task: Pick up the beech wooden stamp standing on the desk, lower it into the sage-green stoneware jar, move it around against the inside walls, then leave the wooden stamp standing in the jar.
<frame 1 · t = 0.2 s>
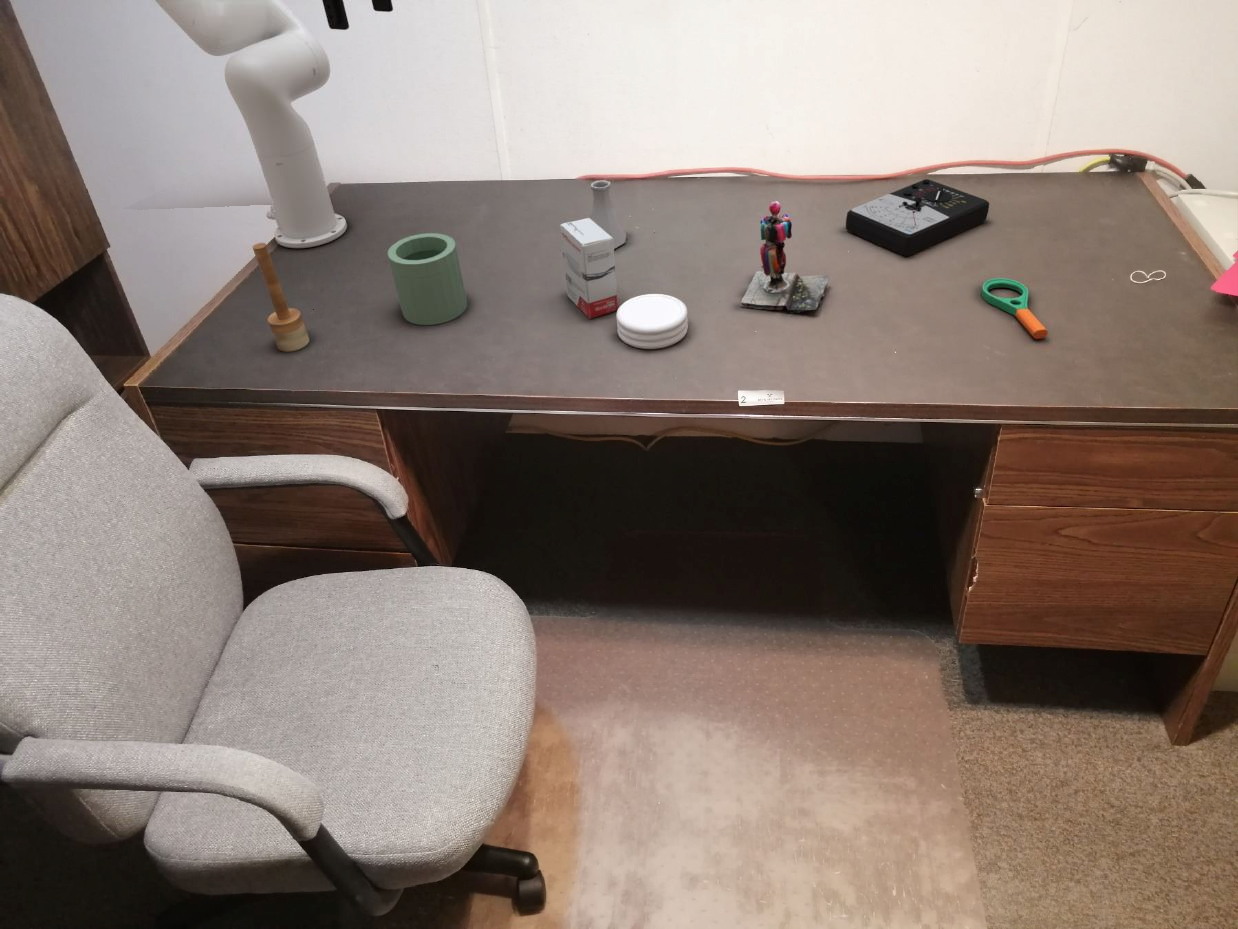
hand: (362, 19, 127), 37 cm above the table, tool pointing down, fingers open, 9 cm apart
magnifying glass: (1015, 313, 124), on the table
coaster: (652, 332, 127), on the table
wooden stamp: (293, 343, 131), on the table
multimeter: (915, 227, 146), on the table
flask: (605, 242, 150), on the table
jar: (435, 308, 136), on the table
statue: (785, 297, 132), on the table
ink box: (592, 304, 134), on the table
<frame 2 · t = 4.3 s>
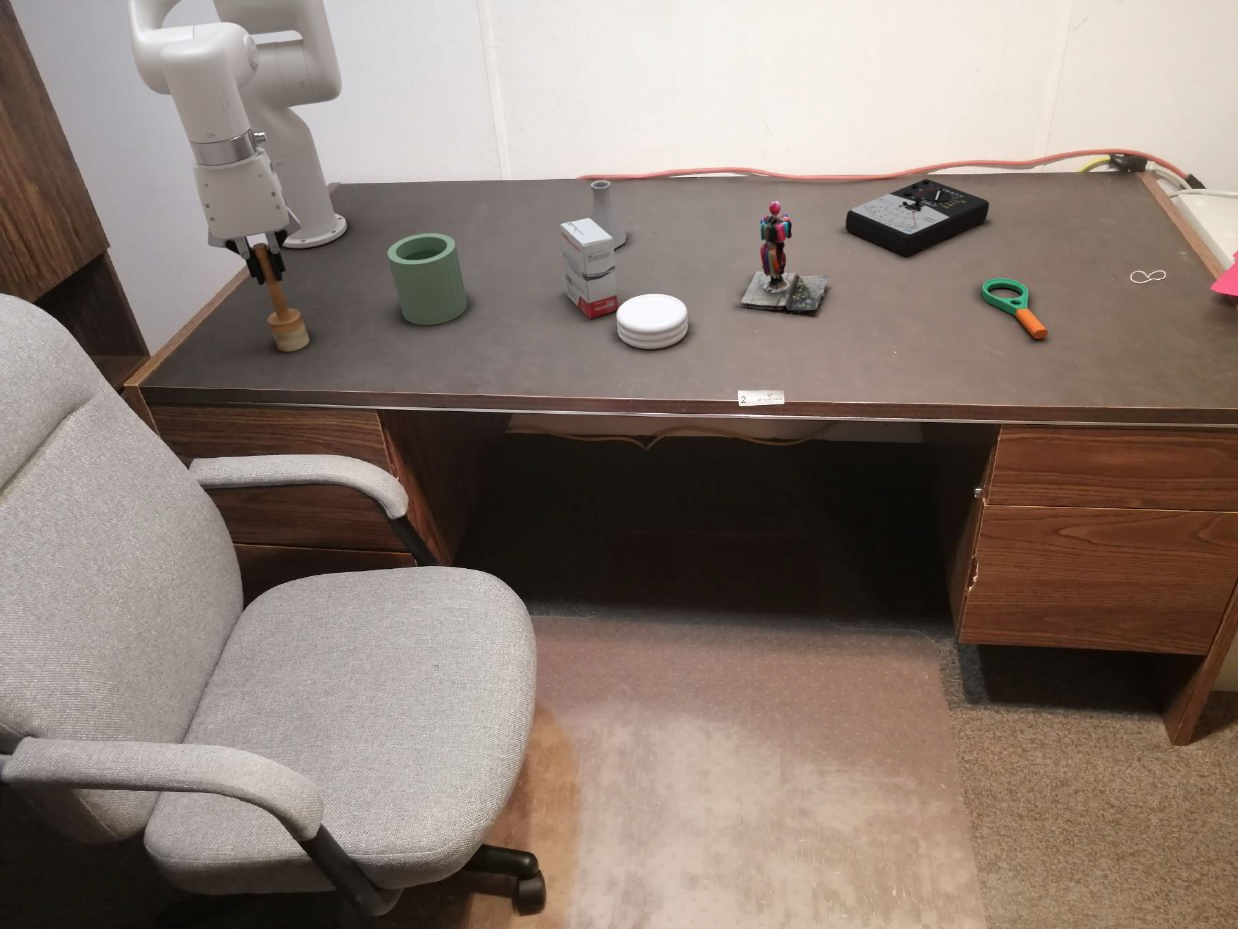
hand: (270, 277, 124), 11 cm above the table, tool pointing down, fingers closed on wooden stamp
wooden stamp: (293, 343, 131), on the table, touching gripper
everything else where it was.
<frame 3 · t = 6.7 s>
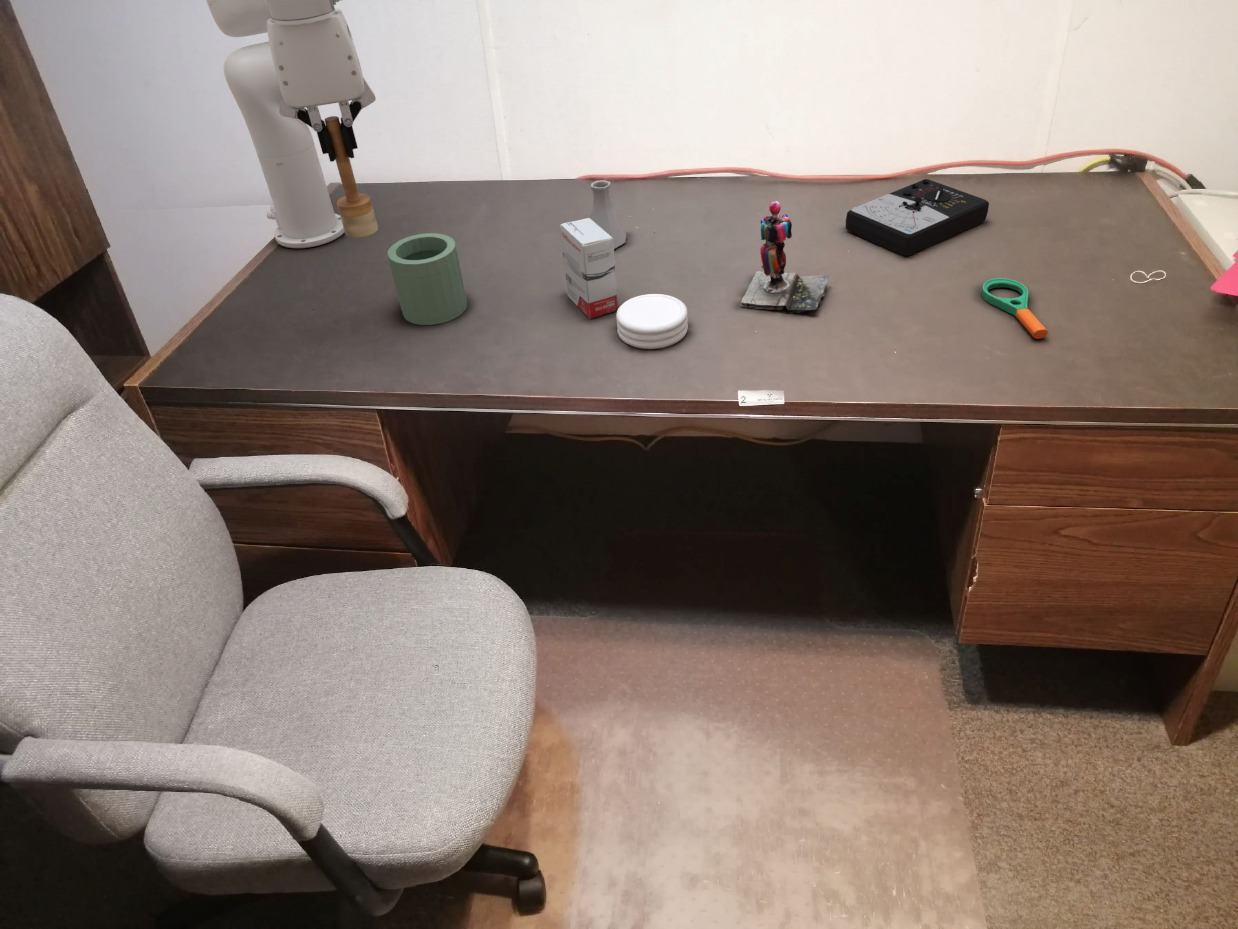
hand: (341, 155, 118), 25 cm above the table, tool pointing down, fingers closed on wooden stamp
wooden stamp: (361, 230, 125), point 15 cm above the table, touching gripper
everything else where it was.
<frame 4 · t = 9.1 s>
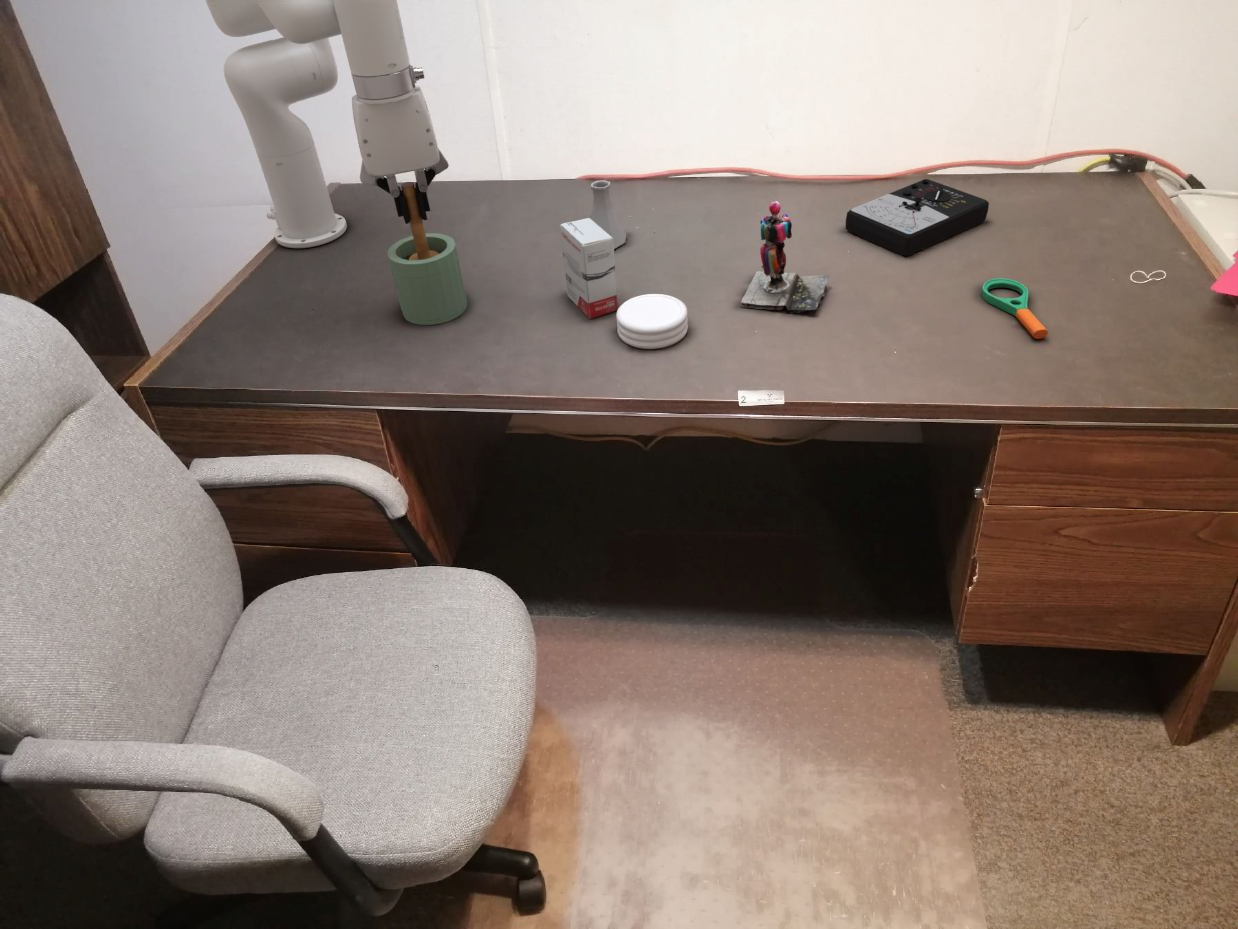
hand: (415, 217, 126), 15 cm above the table, tool pointing down, fingers closed on wooden stamp
wooden stamp: (430, 284, 133), point 4 cm above the table, touching gripper
everything else where it was.
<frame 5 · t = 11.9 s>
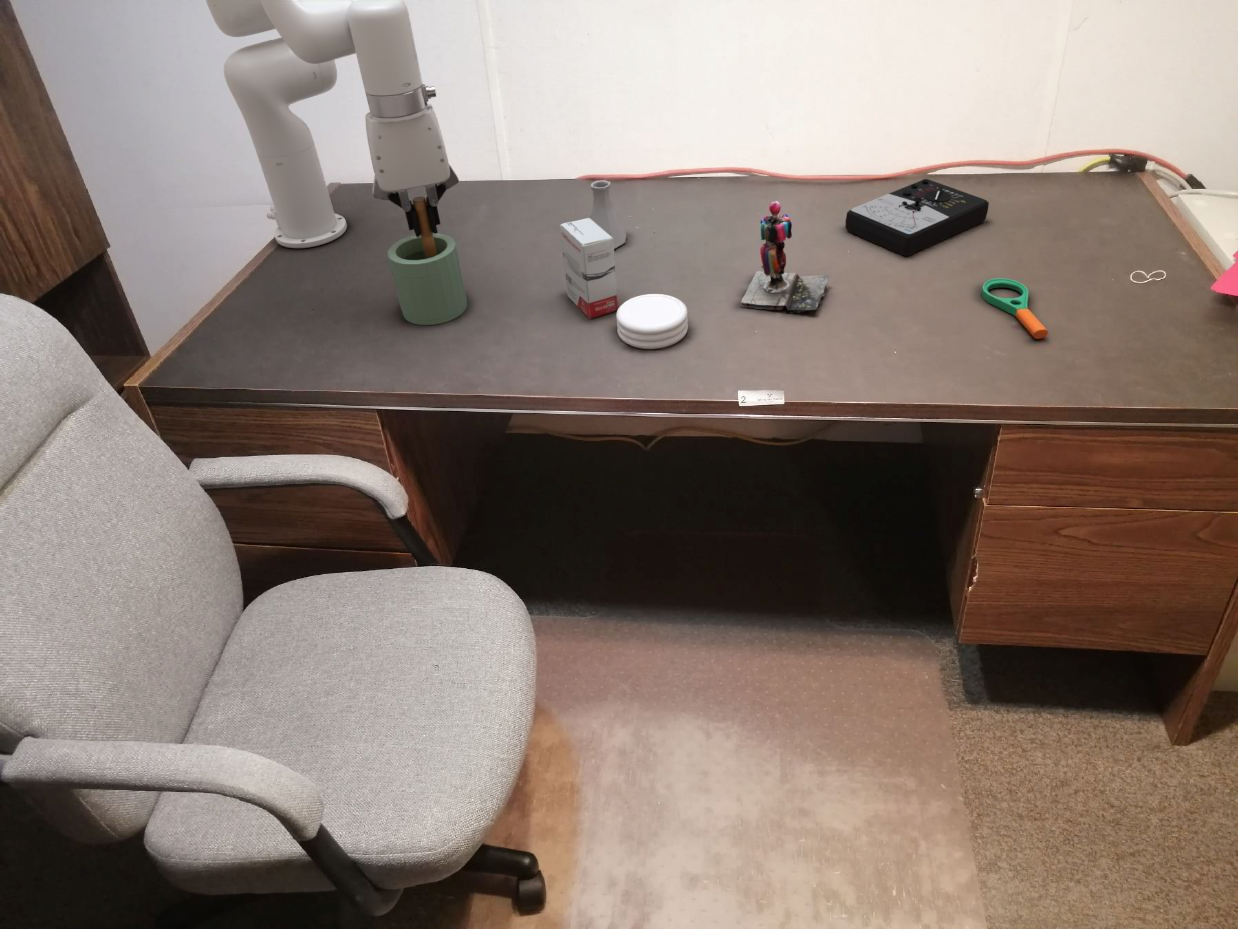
hand: (425, 230, 130), 12 cm above the table, tool pointing down, fingers closed on wooden stamp
wooden stamp: (440, 295, 136), point 1 cm above the table, touching gripper
everything else where it was.
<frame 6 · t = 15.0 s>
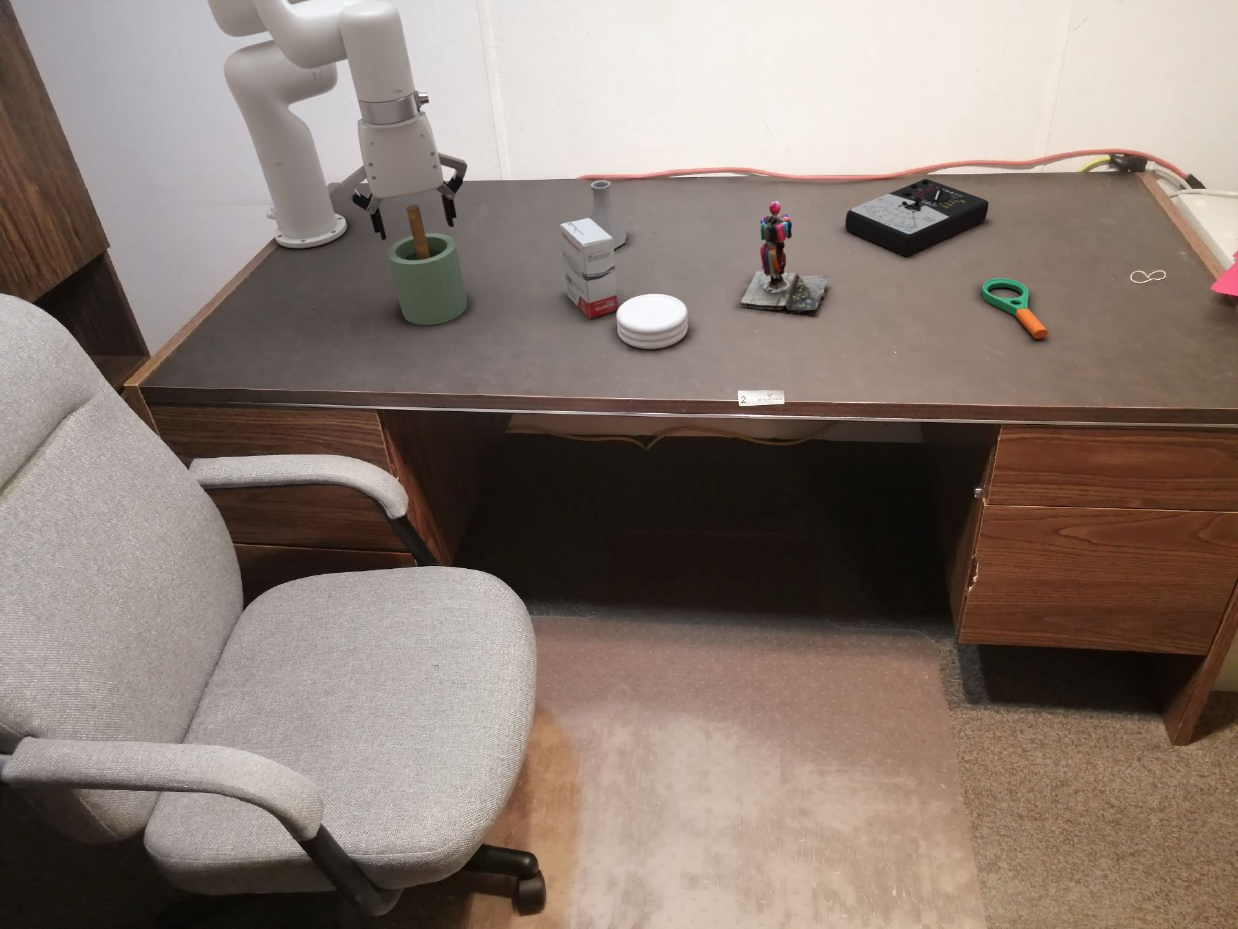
hand: (417, 229, 128), 13 cm above the table, tool pointing down, fingers open, 9 cm apart
wooden stamp: (434, 304, 135), point 1 cm above the table, touching jar
jar: (435, 308, 136), on the table, touching wooden stamp
everything else where it was.
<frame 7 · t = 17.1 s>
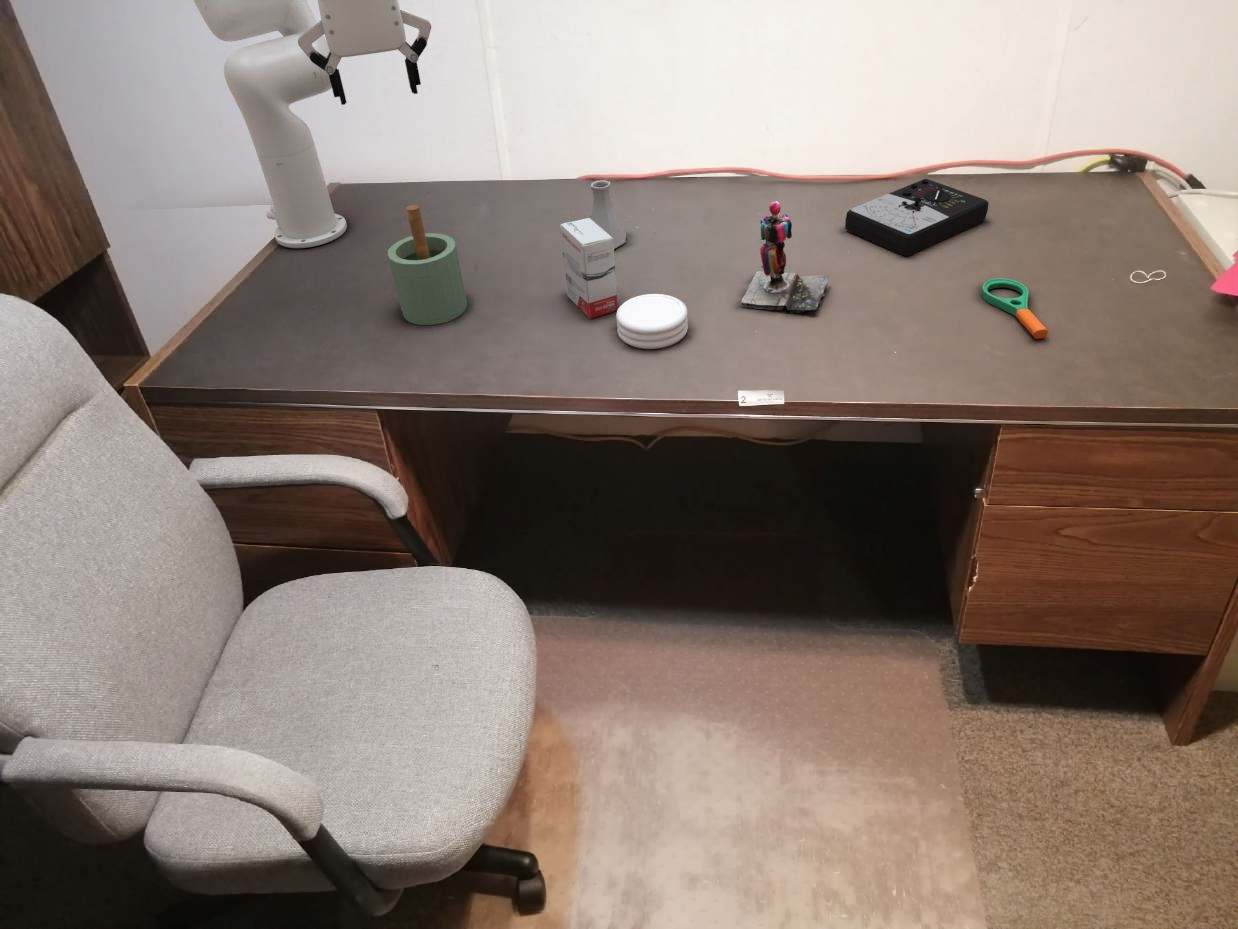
hand: (379, 96, 122), 30 cm above the table, tool pointing down, fingers open, 9 cm apart
nothing on the table moved.
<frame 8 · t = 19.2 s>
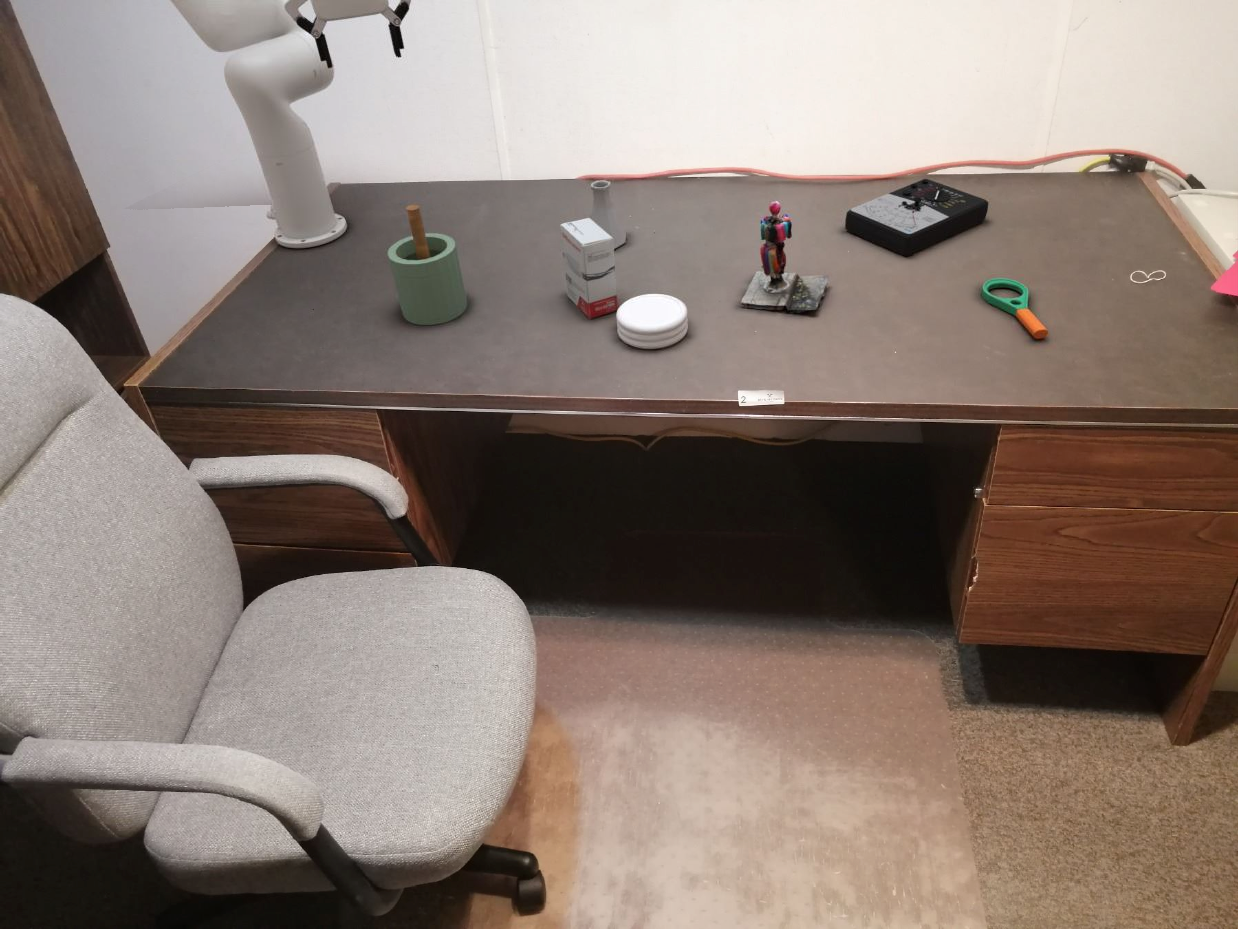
hand: (364, 60, 127), 32 cm above the table, tool pointing down, fingers open, 9 cm apart
nothing on the table moved.
at the end: wooden stamp 0.1 cm off-centre in the jar, point 0.8 cm above the jar's base; jar tilted 0°; jar moved 0.0 cm from its start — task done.
